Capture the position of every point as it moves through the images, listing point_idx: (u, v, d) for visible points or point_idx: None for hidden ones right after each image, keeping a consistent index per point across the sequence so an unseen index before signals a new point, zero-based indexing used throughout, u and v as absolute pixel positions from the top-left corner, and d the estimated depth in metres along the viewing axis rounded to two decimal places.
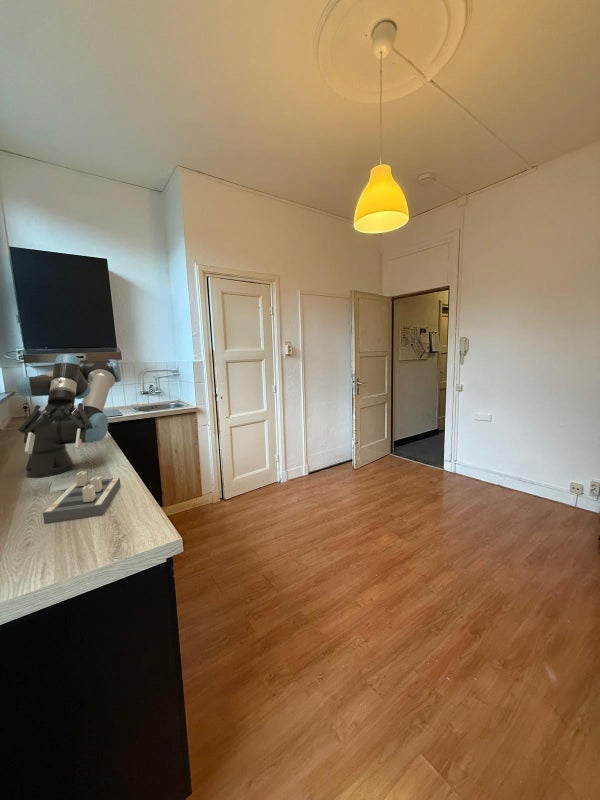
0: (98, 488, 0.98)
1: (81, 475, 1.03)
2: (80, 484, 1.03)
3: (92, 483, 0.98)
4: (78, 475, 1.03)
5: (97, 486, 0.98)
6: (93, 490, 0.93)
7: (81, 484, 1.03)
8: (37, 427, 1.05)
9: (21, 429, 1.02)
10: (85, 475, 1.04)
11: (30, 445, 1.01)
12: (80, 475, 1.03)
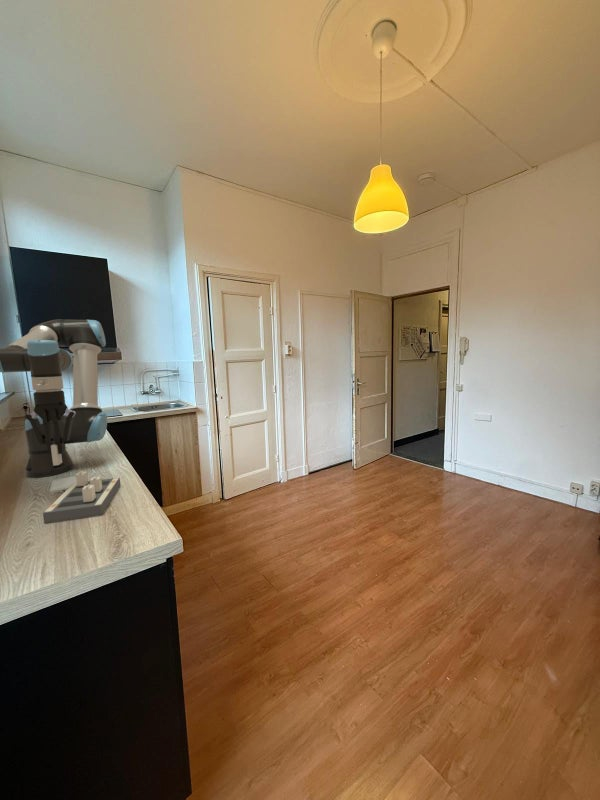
0: (98, 488, 0.98)
1: (81, 475, 1.03)
2: (80, 484, 1.03)
3: (92, 483, 0.98)
4: (78, 475, 1.03)
5: (97, 486, 0.98)
6: (93, 490, 0.93)
7: (81, 484, 1.03)
8: (51, 434, 1.00)
9: (42, 441, 0.98)
10: (85, 475, 1.04)
11: None
12: (80, 475, 1.03)
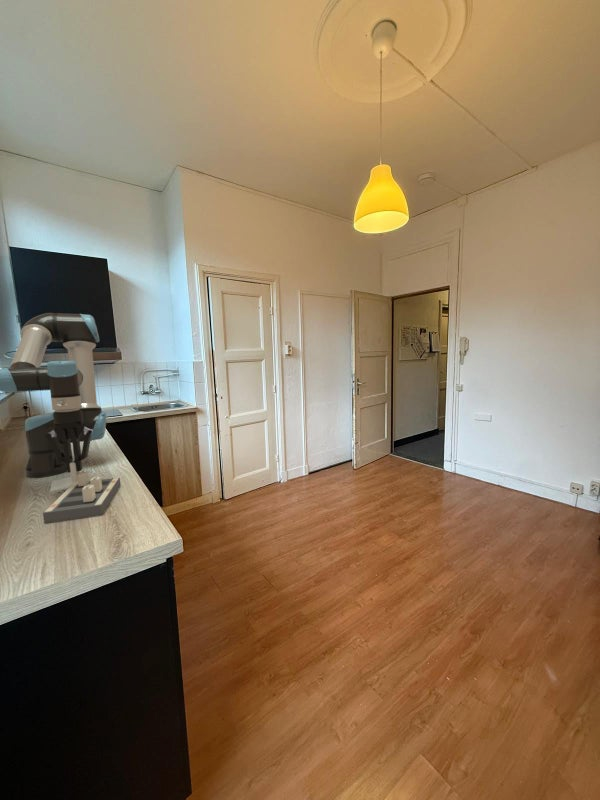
0: (98, 488, 0.98)
1: (82, 475, 1.03)
2: (81, 484, 1.03)
3: (92, 483, 0.98)
4: (79, 475, 1.03)
5: (97, 486, 0.98)
6: (93, 490, 0.93)
7: (82, 484, 1.03)
8: (70, 452, 1.02)
9: (61, 459, 1.00)
10: (86, 475, 1.04)
11: None
12: (81, 475, 1.03)
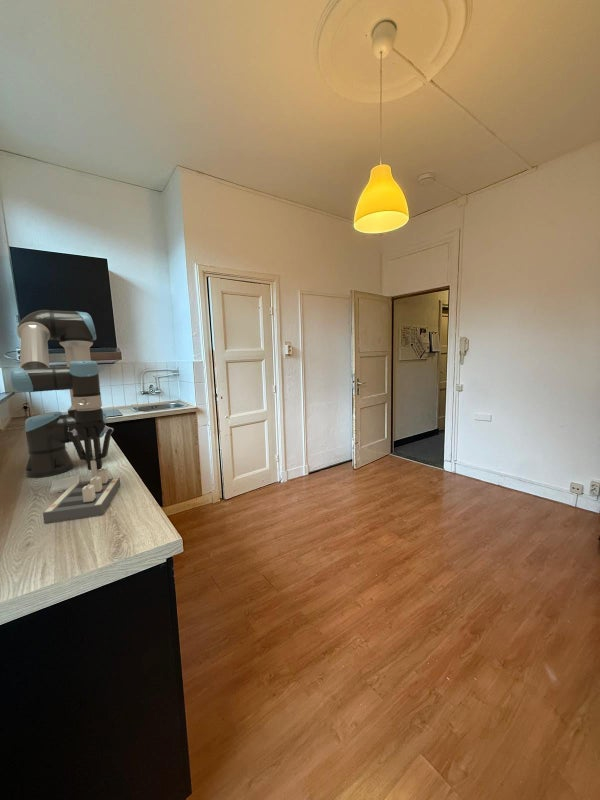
0: (98, 488, 0.98)
1: (102, 473, 1.05)
2: None
3: (92, 483, 0.98)
4: (99, 473, 1.04)
5: (97, 486, 0.98)
6: (93, 490, 0.93)
7: (102, 481, 1.05)
8: (90, 450, 1.04)
9: (82, 457, 1.02)
10: (106, 473, 1.06)
11: None
12: (101, 473, 1.04)
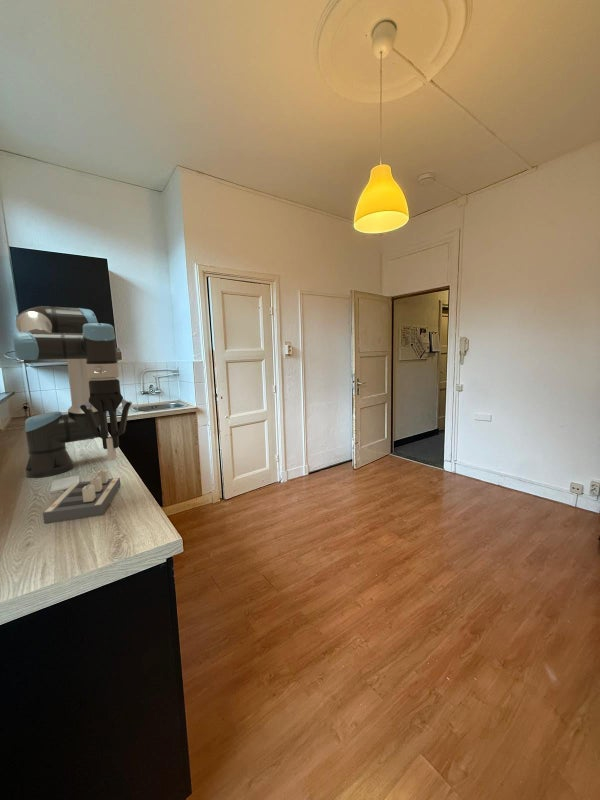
0: (98, 488, 0.98)
1: (102, 473, 1.05)
2: None
3: (92, 483, 0.98)
4: (99, 473, 1.04)
5: (97, 486, 0.98)
6: (93, 490, 0.93)
7: (102, 481, 1.05)
8: (106, 427, 0.92)
9: (97, 434, 0.90)
10: (106, 473, 1.06)
11: None
12: (101, 473, 1.04)
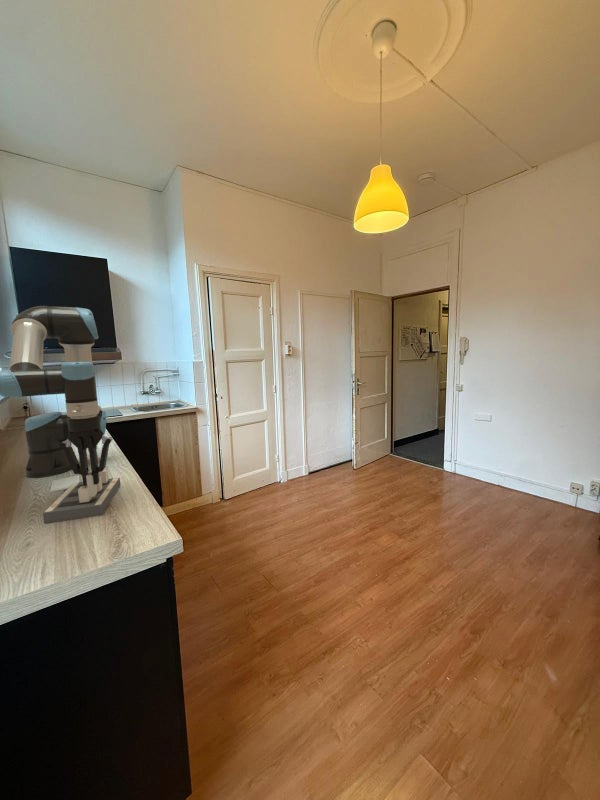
0: (98, 488, 0.98)
1: (102, 473, 1.05)
2: None
3: None
4: (99, 473, 1.04)
5: (97, 486, 0.98)
6: None
7: (102, 481, 1.05)
8: (86, 463, 0.92)
9: (76, 471, 0.90)
10: (106, 473, 1.06)
11: None
12: (101, 473, 1.04)
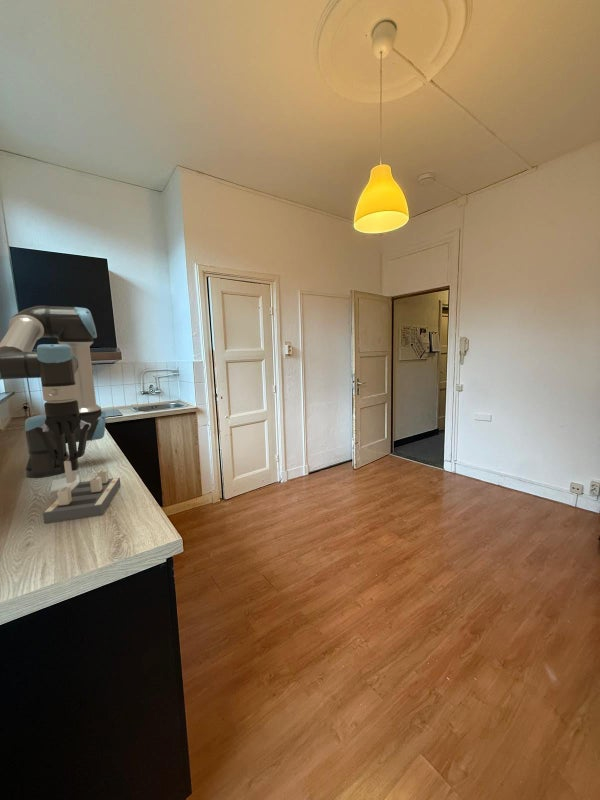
0: (98, 488, 0.98)
1: (102, 473, 1.05)
2: None
3: (92, 483, 0.98)
4: (99, 473, 1.04)
5: (97, 486, 0.98)
6: (69, 493, 0.91)
7: (102, 481, 1.05)
8: (64, 449, 0.90)
9: (54, 457, 0.88)
10: (106, 473, 1.06)
11: None
12: (101, 473, 1.04)
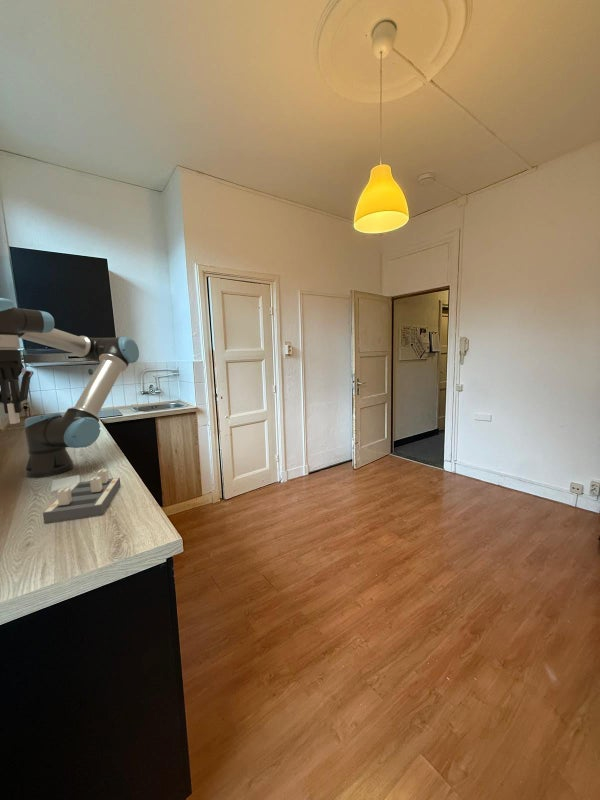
0: (98, 488, 0.98)
1: (102, 473, 1.05)
2: None
3: (92, 483, 0.98)
4: (99, 473, 1.04)
5: (97, 486, 0.98)
6: (69, 493, 0.91)
7: (102, 481, 1.05)
8: (8, 393, 1.01)
9: None
10: (106, 473, 1.06)
11: None
12: (101, 473, 1.04)
